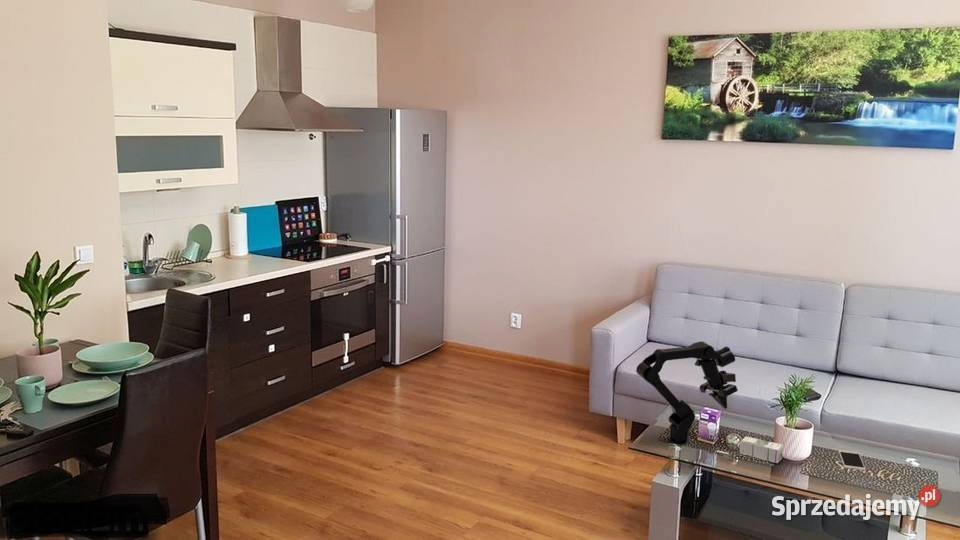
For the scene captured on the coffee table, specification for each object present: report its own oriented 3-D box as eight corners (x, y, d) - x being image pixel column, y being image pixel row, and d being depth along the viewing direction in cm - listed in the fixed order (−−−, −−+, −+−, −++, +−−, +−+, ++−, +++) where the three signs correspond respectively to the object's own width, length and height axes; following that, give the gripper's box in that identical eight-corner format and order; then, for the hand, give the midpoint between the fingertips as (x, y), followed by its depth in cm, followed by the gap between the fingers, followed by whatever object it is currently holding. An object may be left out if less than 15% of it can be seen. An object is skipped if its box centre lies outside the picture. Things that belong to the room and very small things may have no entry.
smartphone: (858, 453, 293) (858, 451, 293) (865, 471, 279) (865, 469, 279) (838, 451, 295) (838, 449, 295) (844, 469, 281) (844, 466, 281)
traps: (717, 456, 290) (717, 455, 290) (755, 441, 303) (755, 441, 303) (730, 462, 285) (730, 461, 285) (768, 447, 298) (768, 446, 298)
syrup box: (739, 454, 292) (778, 464, 283) (740, 440, 291) (779, 450, 282) (744, 449, 296) (782, 458, 288) (745, 434, 295) (783, 444, 286)
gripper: (741, 365, 293) (756, 402, 294) (715, 362, 311) (729, 397, 312) (717, 377, 291) (732, 414, 291) (692, 373, 309) (706, 408, 309)
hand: (725, 408), depth 301 cm, fingers closed
